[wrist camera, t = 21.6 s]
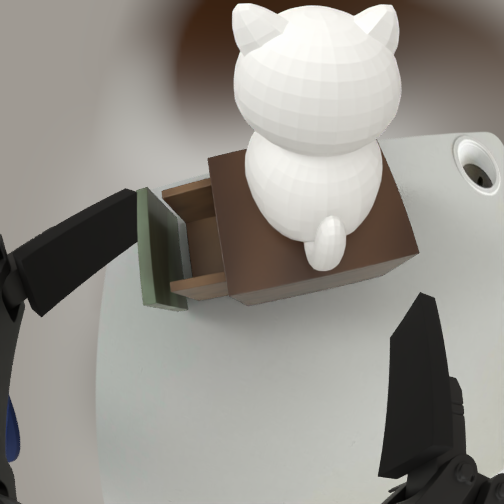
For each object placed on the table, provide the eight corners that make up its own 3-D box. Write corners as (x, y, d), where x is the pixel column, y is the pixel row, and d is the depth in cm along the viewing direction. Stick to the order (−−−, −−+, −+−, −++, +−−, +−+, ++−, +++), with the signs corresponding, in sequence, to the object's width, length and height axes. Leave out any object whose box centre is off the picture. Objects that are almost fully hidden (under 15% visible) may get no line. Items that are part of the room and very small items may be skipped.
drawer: (167, 313, 30) (130, 307, 22) (157, 222, 32) (124, 193, 25) (307, 286, 29) (314, 271, 21) (285, 192, 31) (283, 152, 24)
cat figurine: (352, 132, 23) (384, -23, 8) (383, 277, 19) (526, 182, 5) (248, 140, 24) (207, -20, 9) (258, 290, 20) (186, 200, 6)
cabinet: (247, 306, 30) (228, 296, 20) (229, 203, 33) (207, 157, 24) (383, 275, 29) (419, 253, 19) (353, 178, 32) (371, 128, 23)
